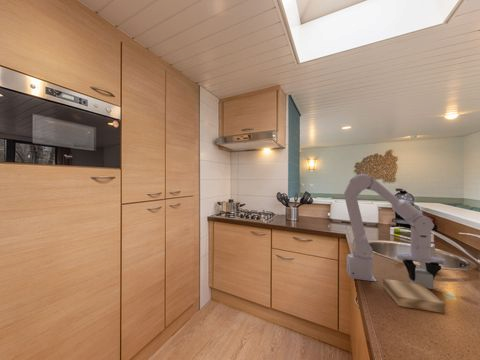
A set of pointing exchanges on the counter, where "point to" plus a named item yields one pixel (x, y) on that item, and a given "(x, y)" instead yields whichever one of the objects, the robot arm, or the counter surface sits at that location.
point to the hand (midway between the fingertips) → (420, 280)
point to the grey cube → (423, 278)
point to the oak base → (413, 295)
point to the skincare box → (433, 254)
